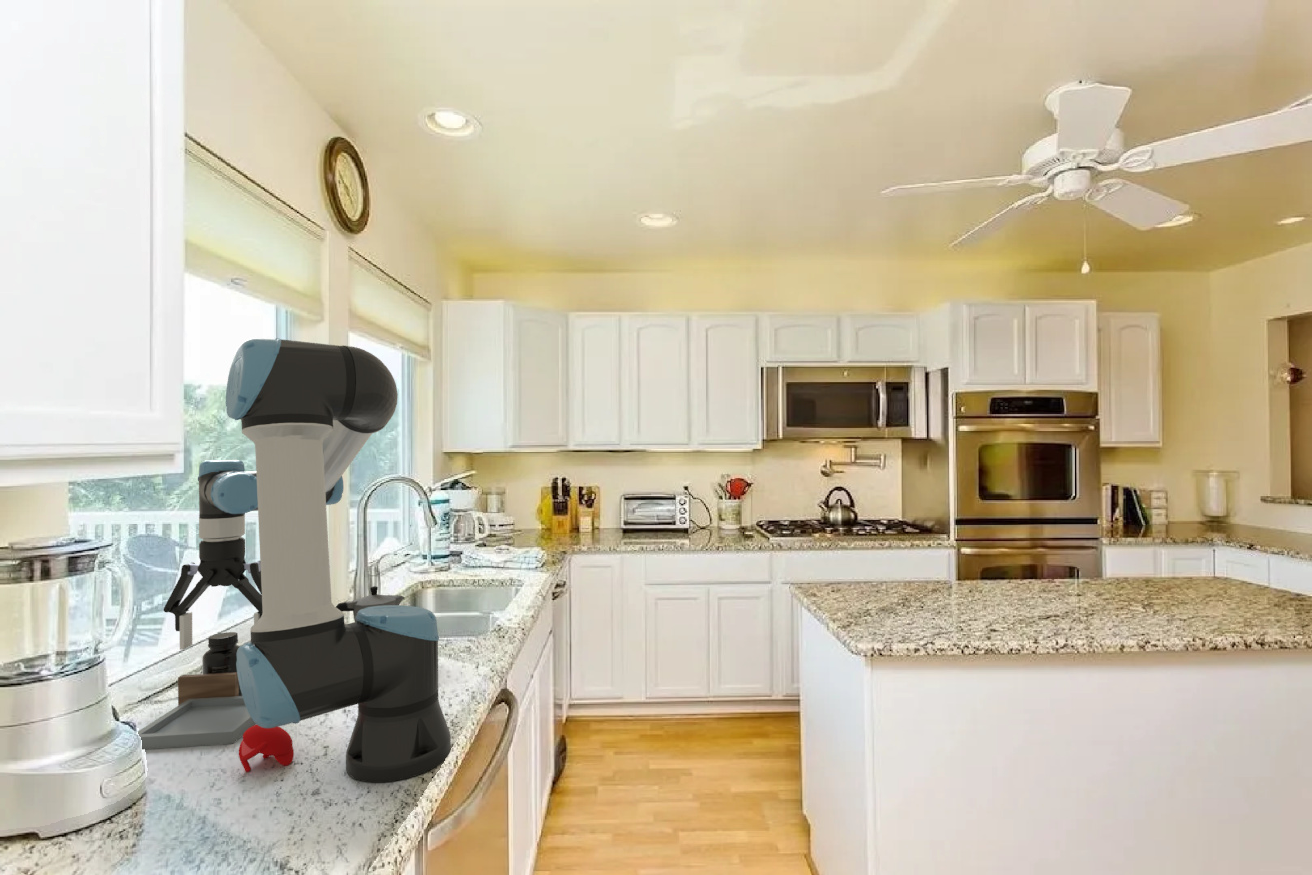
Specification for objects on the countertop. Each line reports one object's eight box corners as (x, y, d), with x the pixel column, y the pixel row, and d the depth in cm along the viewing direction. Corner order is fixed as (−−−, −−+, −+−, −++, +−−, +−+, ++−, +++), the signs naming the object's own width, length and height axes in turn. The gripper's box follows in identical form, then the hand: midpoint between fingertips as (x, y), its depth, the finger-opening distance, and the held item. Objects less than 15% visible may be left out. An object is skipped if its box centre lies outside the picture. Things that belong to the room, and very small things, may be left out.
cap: (221, 755, 94) (252, 736, 94) (243, 725, 100) (272, 706, 99) (260, 788, 97) (291, 770, 96) (280, 757, 102) (309, 739, 102)
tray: (233, 743, 105) (232, 731, 105) (127, 750, 103) (127, 737, 103) (279, 704, 121) (279, 693, 121) (188, 709, 119) (188, 698, 119)
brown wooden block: (235, 706, 120) (235, 674, 120) (178, 709, 119) (178, 677, 119) (265, 683, 132) (265, 654, 132) (213, 686, 130) (213, 657, 130)
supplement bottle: (252, 689, 128) (252, 630, 129) (226, 703, 122) (226, 640, 122) (221, 689, 129) (220, 629, 129) (193, 702, 122) (193, 640, 122)
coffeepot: (396, 656, 148) (395, 578, 148) (413, 666, 141) (412, 584, 141) (324, 673, 137) (323, 589, 137) (339, 685, 130) (338, 597, 130)
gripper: (297, 533, 131) (298, 637, 131) (166, 536, 128) (167, 642, 128) (280, 539, 123) (281, 649, 123) (140, 542, 121) (141, 654, 121)
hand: (223, 645), depth 126 cm, fingers open, 13 cm apart
